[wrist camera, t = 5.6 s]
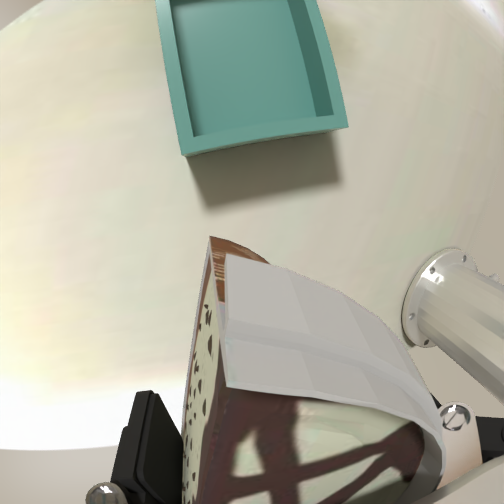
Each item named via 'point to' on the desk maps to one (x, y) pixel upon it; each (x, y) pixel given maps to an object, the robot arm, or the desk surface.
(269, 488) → the food container
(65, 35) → the desk surface
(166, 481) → the robot arm
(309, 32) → the bin
